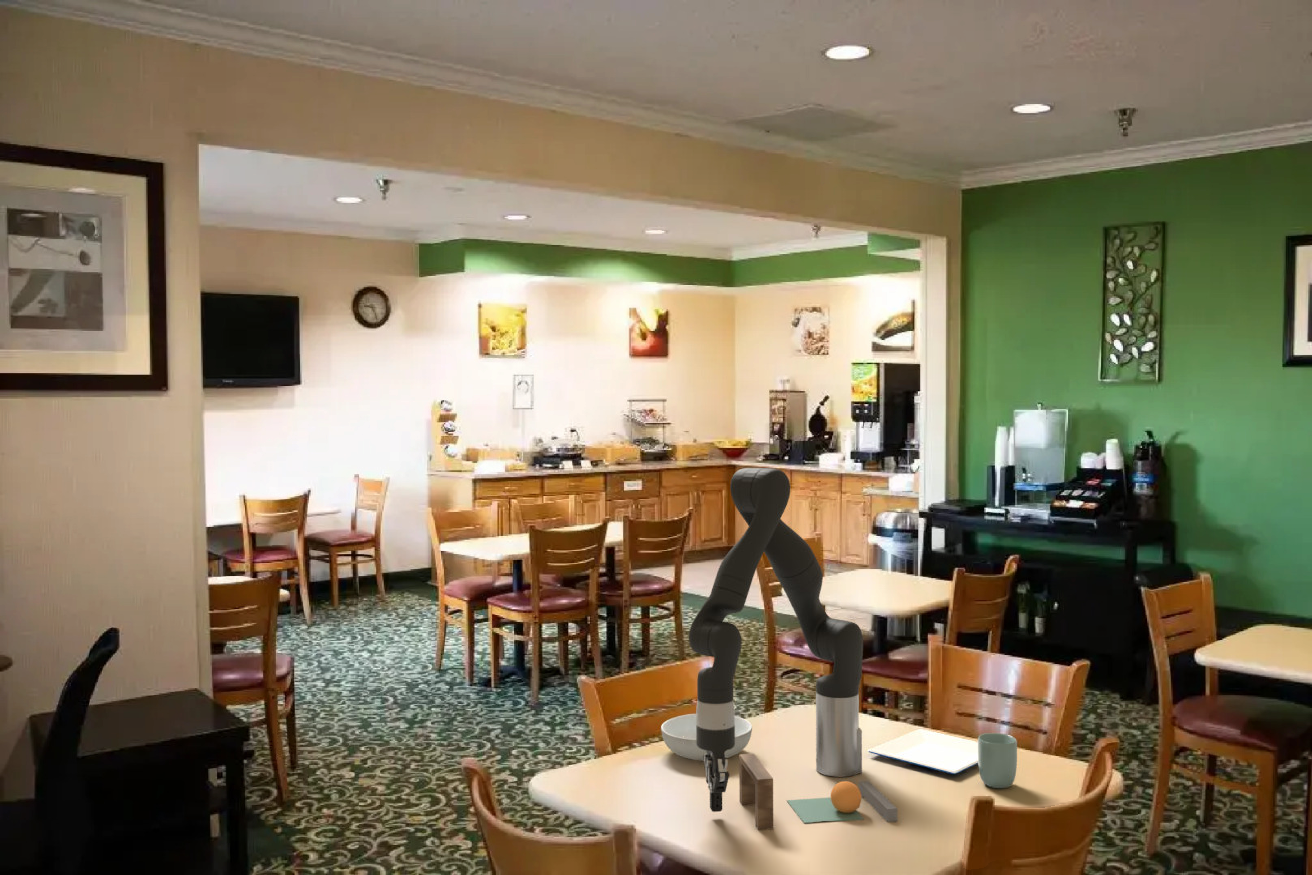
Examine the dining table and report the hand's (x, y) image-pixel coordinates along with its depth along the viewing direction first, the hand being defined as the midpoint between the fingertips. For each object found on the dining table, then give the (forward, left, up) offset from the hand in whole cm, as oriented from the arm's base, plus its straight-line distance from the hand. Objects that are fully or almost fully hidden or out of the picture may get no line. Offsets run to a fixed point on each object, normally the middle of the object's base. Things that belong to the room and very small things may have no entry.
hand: (716, 809), depth 217 cm
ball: (-26, +2, +2) cm, 26 cm away
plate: (-57, -27, -2) cm, 63 cm away
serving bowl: (-6, -38, -2) cm, 39 cm away
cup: (-62, -7, -2) cm, 62 cm away
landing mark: (-22, 0, -2) cm, 22 cm away
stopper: (-33, 0, -2) cm, 33 cm away
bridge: (-8, 0, -2) cm, 8 cm away
